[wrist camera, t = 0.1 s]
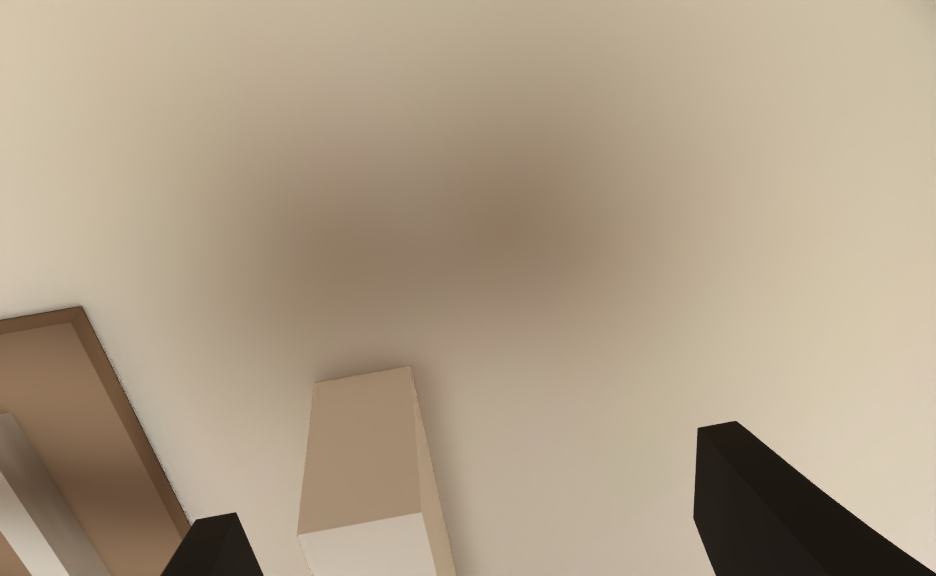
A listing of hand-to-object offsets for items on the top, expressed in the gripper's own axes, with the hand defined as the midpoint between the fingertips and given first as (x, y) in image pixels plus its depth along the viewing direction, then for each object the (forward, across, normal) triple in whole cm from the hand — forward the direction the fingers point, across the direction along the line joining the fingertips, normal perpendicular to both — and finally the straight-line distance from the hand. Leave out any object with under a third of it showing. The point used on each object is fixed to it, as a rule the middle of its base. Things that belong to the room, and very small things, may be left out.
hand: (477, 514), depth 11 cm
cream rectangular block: (+10, +3, +11) cm, 15 cm away
